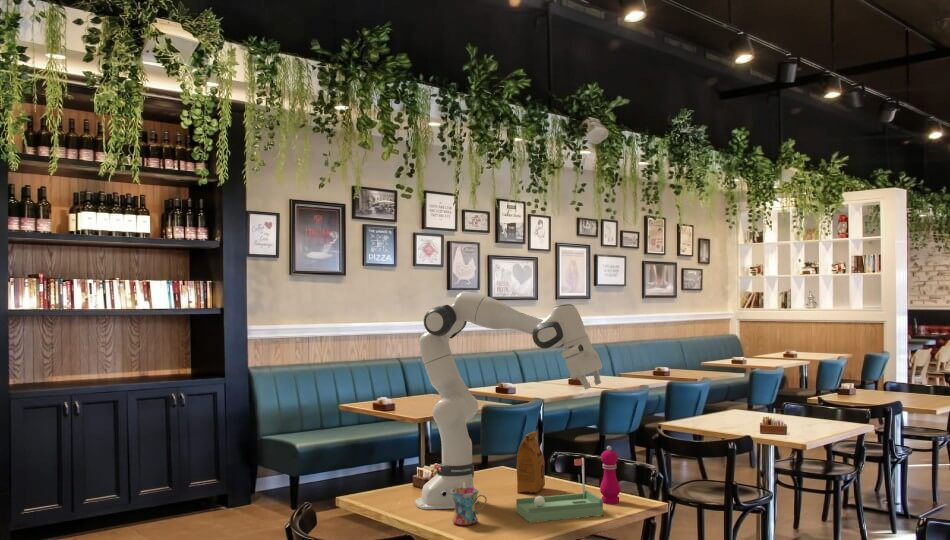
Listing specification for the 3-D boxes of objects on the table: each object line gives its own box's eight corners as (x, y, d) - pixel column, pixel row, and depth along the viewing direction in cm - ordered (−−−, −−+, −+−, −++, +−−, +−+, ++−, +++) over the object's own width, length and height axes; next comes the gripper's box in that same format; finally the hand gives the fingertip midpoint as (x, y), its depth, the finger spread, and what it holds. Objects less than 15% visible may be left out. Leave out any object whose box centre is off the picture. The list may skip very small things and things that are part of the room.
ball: (536, 508, 274) (536, 497, 274) (532, 505, 277) (532, 495, 278) (546, 507, 275) (546, 496, 275) (542, 505, 278) (542, 494, 278)
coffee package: (549, 488, 316) (548, 431, 316) (537, 495, 304) (536, 436, 305) (525, 486, 320) (524, 429, 321) (513, 493, 309) (512, 434, 309)
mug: (448, 526, 265) (447, 493, 266) (454, 518, 274) (453, 487, 275) (484, 527, 263) (484, 494, 263) (489, 519, 272) (488, 487, 273)
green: (529, 522, 268) (528, 470, 268) (516, 512, 281) (515, 462, 282) (602, 515, 274) (601, 464, 275) (586, 505, 288) (585, 457, 289)
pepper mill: (607, 505, 288) (606, 448, 288) (596, 501, 294) (595, 445, 295) (624, 503, 291) (623, 446, 291) (613, 498, 297) (611, 443, 298)
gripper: (583, 347, 291) (596, 384, 289) (559, 354, 274) (573, 393, 272) (598, 342, 288) (612, 379, 286) (575, 348, 271) (590, 388, 268)
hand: (593, 386), depth 279 cm, fingers open, 8 cm apart
